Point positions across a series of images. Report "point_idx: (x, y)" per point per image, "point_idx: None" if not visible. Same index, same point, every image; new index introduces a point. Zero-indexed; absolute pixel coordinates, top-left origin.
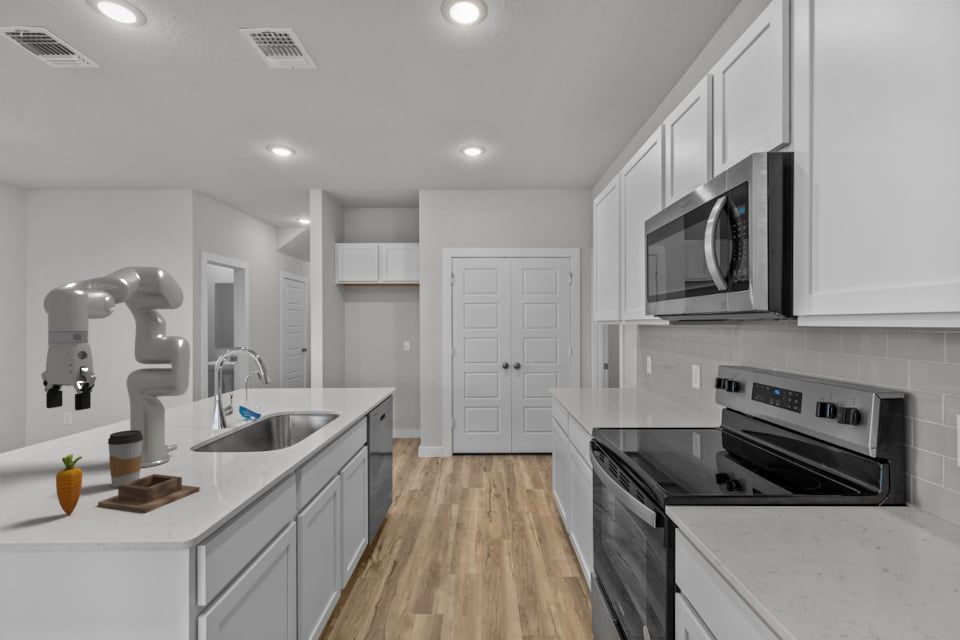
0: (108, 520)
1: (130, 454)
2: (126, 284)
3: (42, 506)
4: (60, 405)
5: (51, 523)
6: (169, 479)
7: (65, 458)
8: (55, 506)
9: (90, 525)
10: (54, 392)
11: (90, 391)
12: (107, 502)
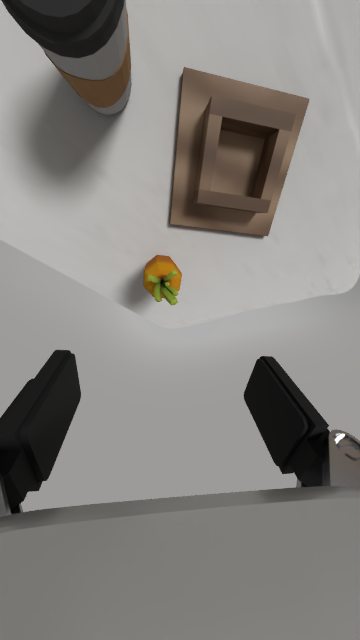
0: (231, 266)
1: (123, 42)
2: None
3: (80, 242)
4: (74, 361)
5: None
6: (268, 128)
7: (160, 296)
8: (102, 237)
9: (221, 283)
10: (42, 463)
11: (348, 443)
12: (187, 222)
